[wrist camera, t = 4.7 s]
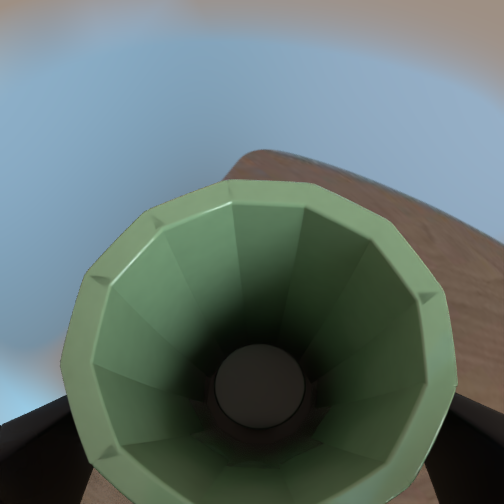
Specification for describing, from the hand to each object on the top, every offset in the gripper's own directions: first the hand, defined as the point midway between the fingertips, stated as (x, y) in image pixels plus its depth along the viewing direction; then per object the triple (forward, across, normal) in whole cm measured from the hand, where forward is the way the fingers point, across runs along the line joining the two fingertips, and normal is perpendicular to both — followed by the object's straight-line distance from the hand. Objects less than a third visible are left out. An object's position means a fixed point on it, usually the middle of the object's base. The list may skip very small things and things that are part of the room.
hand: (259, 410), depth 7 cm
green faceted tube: (+6, 0, +4) cm, 7 cm away
